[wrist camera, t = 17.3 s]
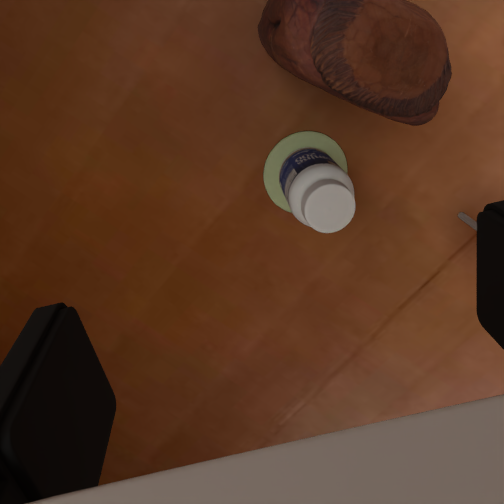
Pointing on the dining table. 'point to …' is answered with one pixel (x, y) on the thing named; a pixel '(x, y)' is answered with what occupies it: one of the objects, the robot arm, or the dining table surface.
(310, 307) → the dining table surface
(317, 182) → the pill bottle
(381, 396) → the dining table surface
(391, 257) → the dining table surface
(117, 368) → the dining table surface
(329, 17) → the wooden figurine
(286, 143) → the coaster
